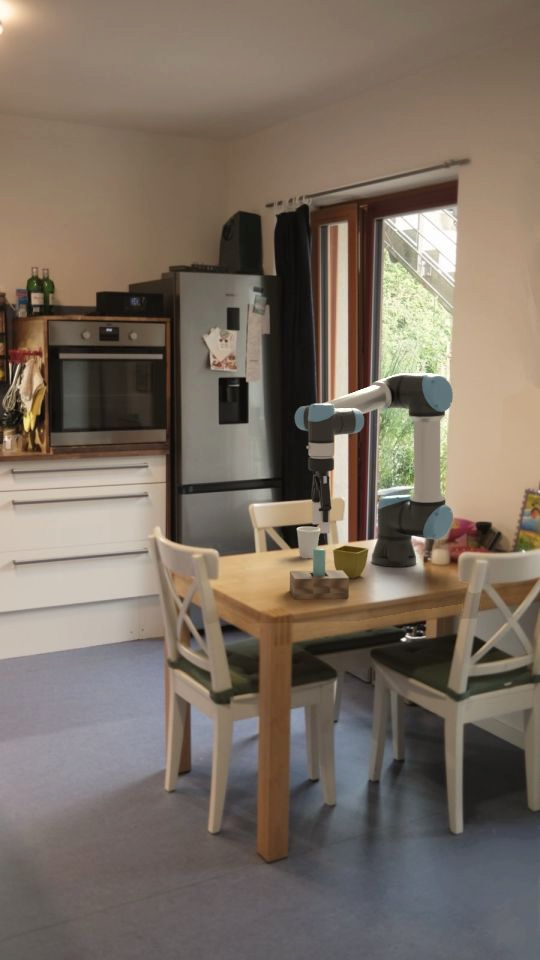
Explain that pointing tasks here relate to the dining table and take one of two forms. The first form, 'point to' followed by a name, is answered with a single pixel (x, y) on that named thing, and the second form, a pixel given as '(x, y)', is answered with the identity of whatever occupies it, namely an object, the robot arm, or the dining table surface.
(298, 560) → the dining table surface
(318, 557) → the pin
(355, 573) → the flower pot
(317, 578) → the block
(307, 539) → the dixie cup
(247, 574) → the dining table surface
